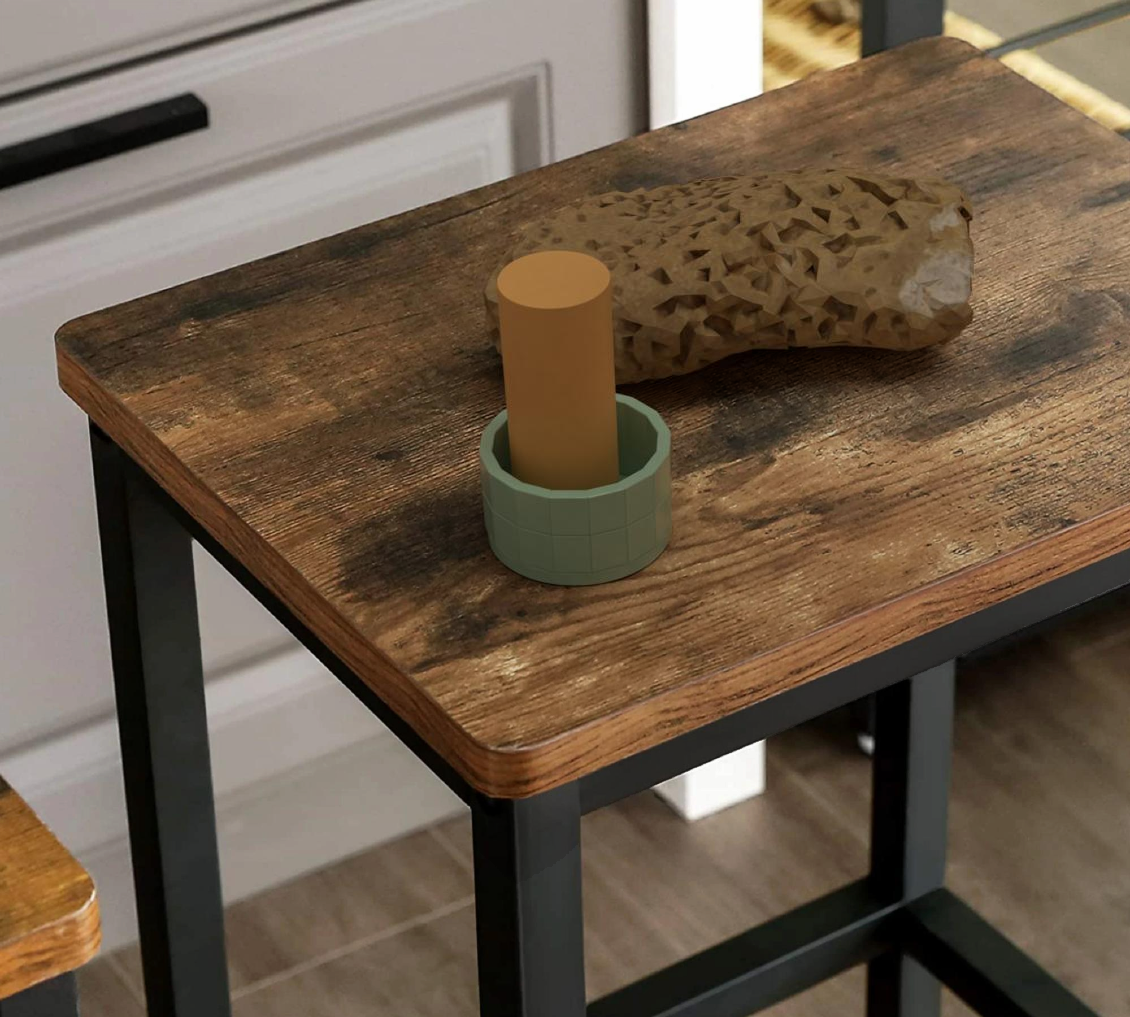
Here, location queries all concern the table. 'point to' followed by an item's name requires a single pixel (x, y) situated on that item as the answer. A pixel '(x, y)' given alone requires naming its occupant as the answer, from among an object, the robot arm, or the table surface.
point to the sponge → (768, 265)
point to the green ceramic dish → (582, 507)
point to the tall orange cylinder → (559, 370)
